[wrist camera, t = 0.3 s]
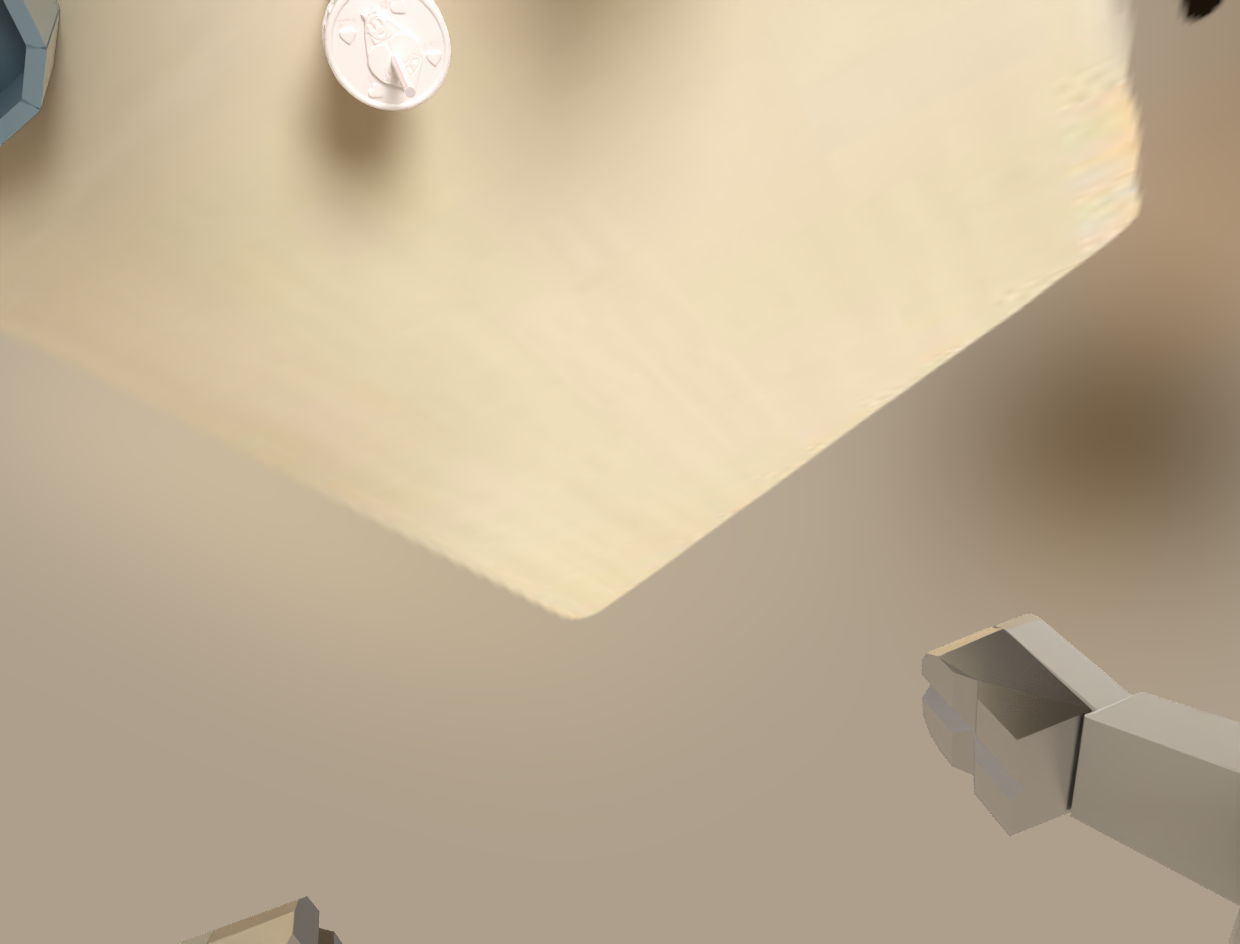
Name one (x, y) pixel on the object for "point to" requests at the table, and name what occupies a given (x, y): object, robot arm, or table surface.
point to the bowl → (25, 59)
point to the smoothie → (387, 50)
